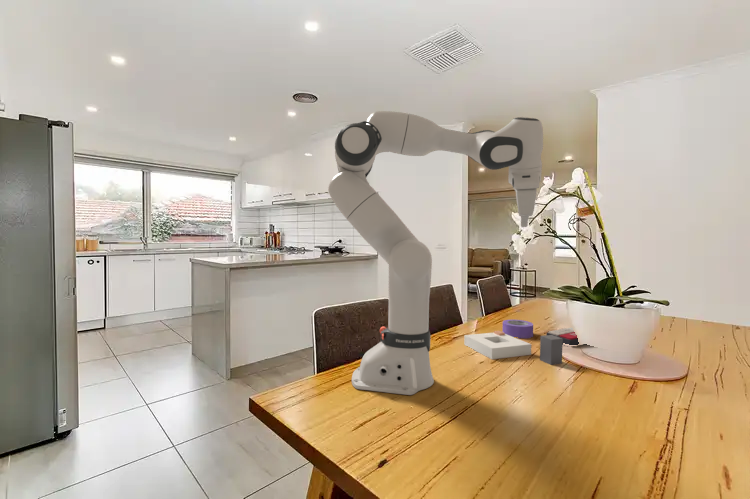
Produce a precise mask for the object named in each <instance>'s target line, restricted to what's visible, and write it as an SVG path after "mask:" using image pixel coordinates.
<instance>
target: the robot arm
mask: <svg viewBox="0 0 750 499" xmlns="http://www.w3.org/2000/svg"><path fill="white" fill-rule="evenodd" d="M543 128H544V127H543V124H542V121H541V120H540V119H537V118H533V117H523V116H521V117H515V118H514V117H513V119H512V120H511V121H510V122H509V123H507V124H506V125H505V126H503V127H502V128H500V129H498V130H497V131H494V130H490V129H483V130H480V131H479V130H478V131H476V132H464V131H459V130H453V129H449V128H444V127H442V126H440V125H438V124H436V122H434V121H432V120H430V119H428V118H425V117H423V116H419V115H417V114H412V113H408V112H402V111H391V110H388V111H387V110H381V111H380V110H377V111H374V112H372V113H371V114H370V115H369V116H368V118H367V120H364V121H360V122H356V123H350V124H349V123H348V124H347V125H345V126H343V127H342V128H341V129H340V130H339V131H338V133H337V135H336V138H335V141H334V149H335V151H334V157H335V162H336V164H337V165H336V166H337V170H338V172H337V174H336V175H334V176H333V178H332V179H331V180H330V182H329V184H328V187H327V188H328V195H329V196H330V198H331V199H332V202H333V203H334V204H335V206H336V207H337V209H338V210H339V211H340V213H341V214H342V215H343V216H344V218H345V219H346V220H347V221H348V222H349V223H350V225H351V226H352V227H353V228H354V229H355V230H356V231H357V233H358V234H359V235H360V236H361V237H362V238H363V239H364V240H365V242H366V243H368V245H370V246H371V247H372V249H373V250H374V251H375V252H376V253H377V254H378V255H380V257H381V258H382V259H383V260H384V261H385V262H386V263H387V265H388V320H387V321H388V327H386V326H381V327H380V329H379V333H380V341H379V342H378V343H377V344H376V345H373V347H371V348H370V349H368V350H367V351H366V352H365V353H364V355H363V356H362V358H361V361H360V364H359V365H360V366H358V367H357V368H356V369H355V370H354V371H353V372H352V376H351V384H352V387H354V388H355V389H357V390H363V391H364V390H365V391H372V392H380V393H390V394H395V395H396V394H397V395H408V396H413V395H415V394H417V393H418V392H419V391H422V390H425V389H426V390H427V389H428V388H431V386H432V385H433V384H434V383H435V381H434V377H433V373H432V369H431V362H430V361H431V360H430V349H431V331H430V329H429V328H430V327H429V324H430V323H429V318H430V313H429V312H430V294H431V283H432V270H433V268H432V267H433V266H432V264H433V258H432V253H431V251H430V249H429V248H428V246H427V245H426V244H425V243H423V242H422V241H420V240H419V239H418V238H417V237H416V236H415V235H414V233H412V232H411V230H410V229H409V228H408V227H407V226H406V224H405V223H404V222H403V221H402V219H401V218H400V217H399V216H398V214H397V213H396V212H395V211H394V209H392V208H391V206H389V204H388V203H387V202H386V201H385V200H384V199H383V198H382V197H381V195H380V194H379V193H378V192H377V191H376V190H375V189H374V188H373V186H371V185H370V182H369V181H368V178H367V177H368V175H369V174H370V172H371V171H372V168H373V165H374V163H375V159H376V156H377V155H378V154H381V153H389V152H390V153H393V154H398V155H403V156H407V157H408V156H411V157H424V156H427V155H428V154H430V153H434V152H436V151H444V152H451V153H455V154H461V155H466V156H468V157H469V158H470V159H472V161H474V162H476V163H478V164H480V165H481V166H483V167H484V168H487V169H488V170H492V171H493V170H500V169H505V168H508V184H510V185H511V186H512V189H513V190H514V192H515V199H516V206H517V213H518V216H519V217H520V227H522V228H527V227H528V225H529V224H528V223H529V218H530V217H532V216H533V214H534V212H535V206H536V199H537V190H538V189H539V188H540V184H541V182H542V174H543V173H542V170H543V161H542V153H543V151H544V129H543Z"/></svg>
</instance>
